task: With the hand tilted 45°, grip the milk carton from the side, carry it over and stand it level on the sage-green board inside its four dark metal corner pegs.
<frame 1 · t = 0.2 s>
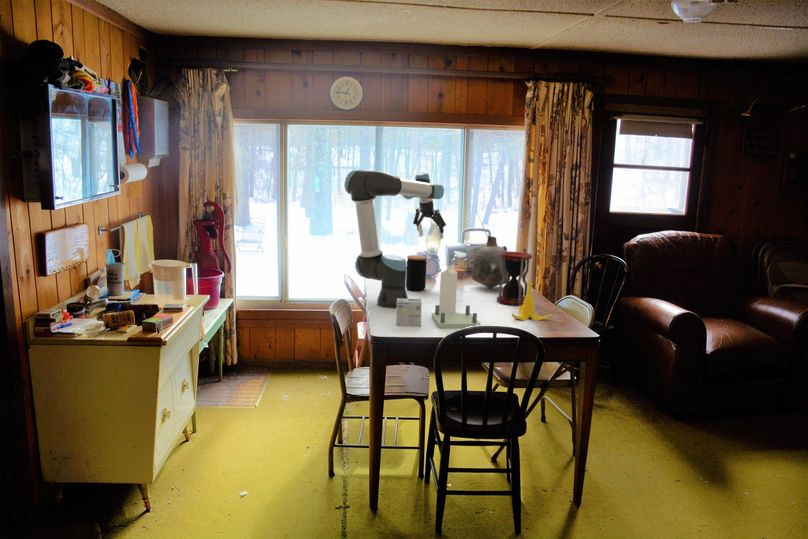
hand: (431, 237, 350), 28 cm above the table, tool tilted 20°, fingers open, 13 cm apart
peg board: (455, 322, 279), on the table
banana peel: (532, 319, 293), on the table
jug: (490, 288, 358), on the table
hourglass: (512, 302, 325), on the table
light bulb box: (408, 324, 274), on the table
coffee jar: (415, 289, 347), on the table
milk: (447, 312, 298), on the table
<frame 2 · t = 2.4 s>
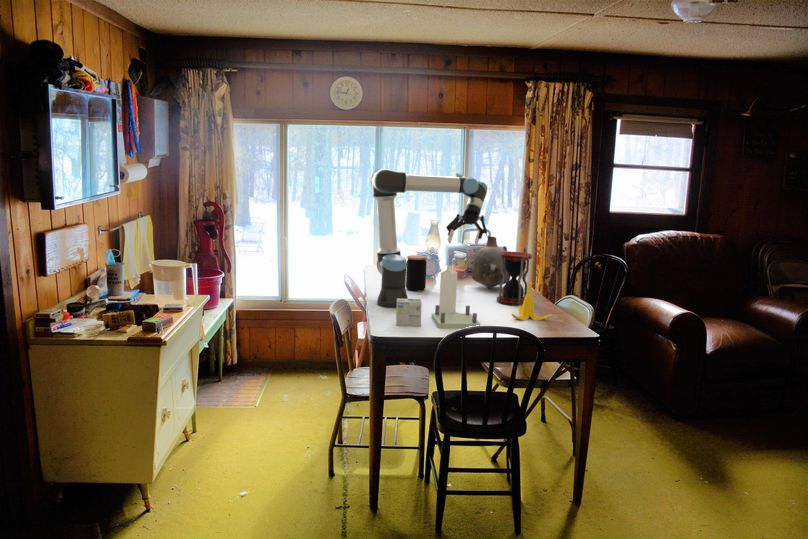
hand: (462, 242, 305), 31 cm above the table, tool tilted 45°, fingers open, 13 cm apart
nothing on the table moved.
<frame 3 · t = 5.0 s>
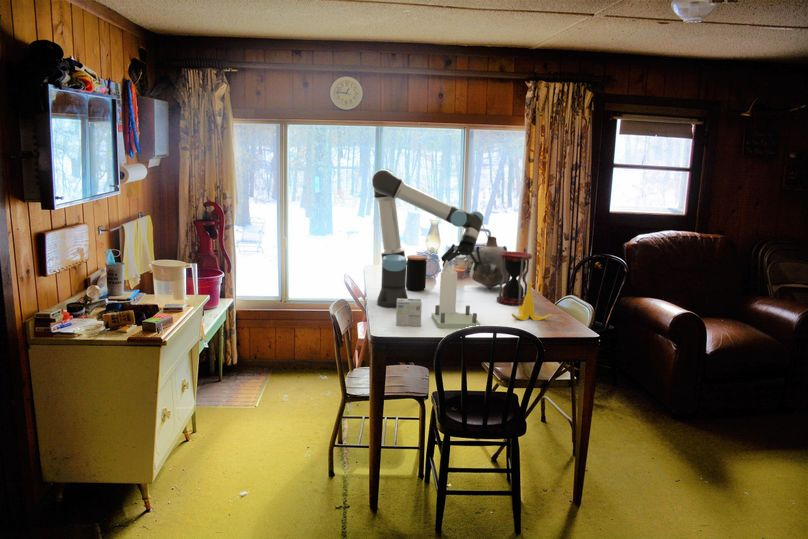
hand: (456, 274, 300), 17 cm above the table, tool tilted 45°, fingers open, 13 cm apart
nothing on the table moved.
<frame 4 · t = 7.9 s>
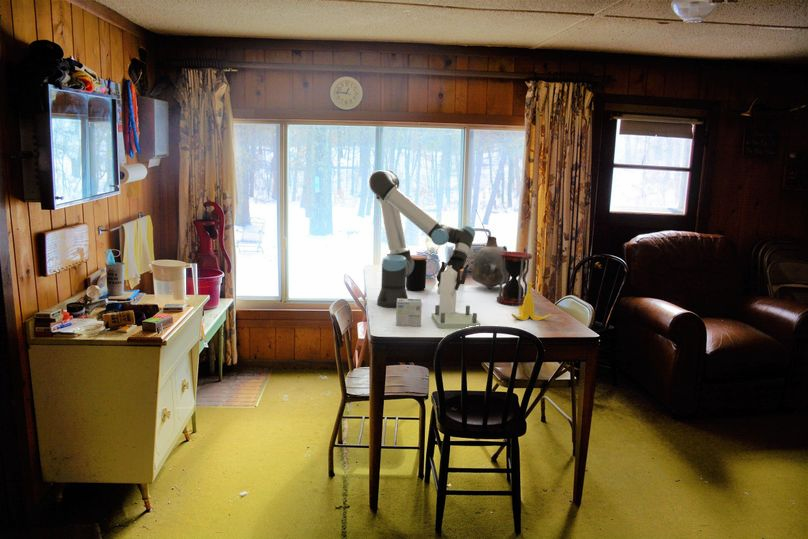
hand: (445, 293, 293), 9 cm above the table, tool tilted 45°, fingers closed on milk, 6 cm apart
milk: (447, 312, 298), on the table, touching gripper
everything else where it was.
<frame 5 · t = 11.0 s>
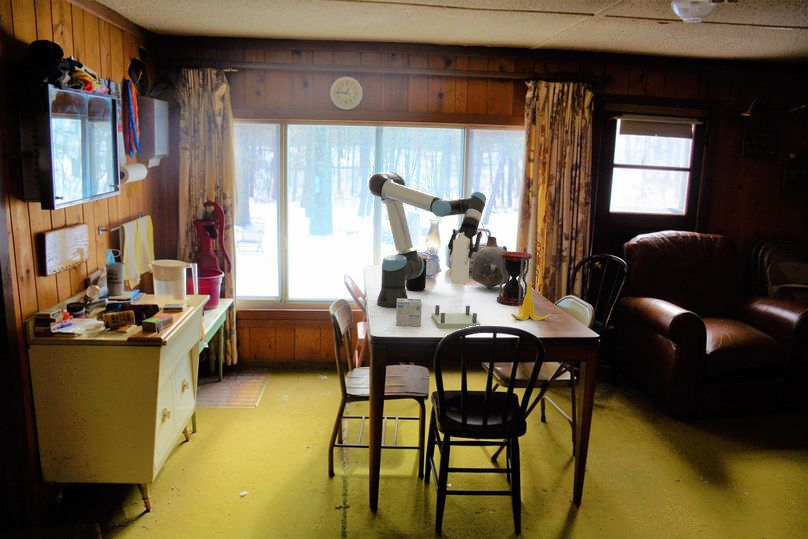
hand: (458, 262, 278), 26 cm above the table, tool tilted 45°, fingers closed on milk, 6 cm apart
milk: (460, 282, 283), point 17 cm above the table, touching gripper
everything else where it was.
when the fingers open (13 cm above the table, at t = 14.3 s): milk drops 1 cm, resting on peg board.
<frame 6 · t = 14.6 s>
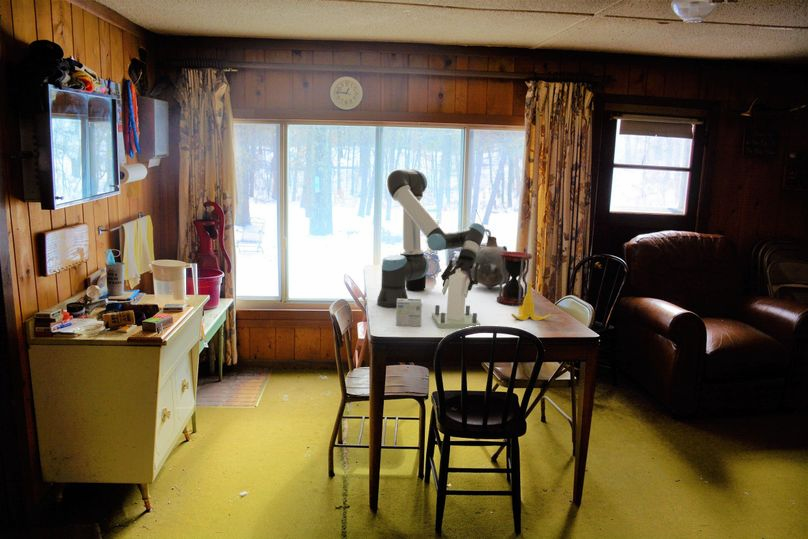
hand: (454, 294, 274), 13 cm above the table, tool tilted 45°, fingers open, 9 cm apart
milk: (455, 318, 279), point 2 cm above the table, touching peg board
everything else where it was.
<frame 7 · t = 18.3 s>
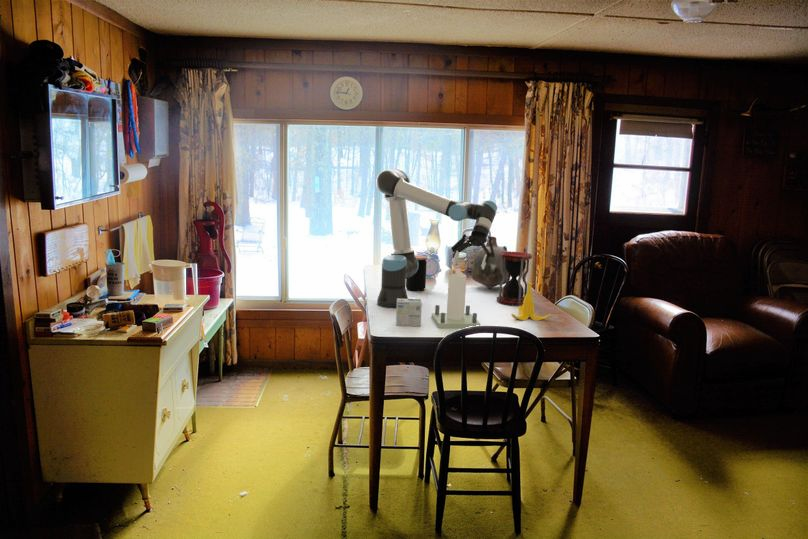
hand: (467, 265, 284), 24 cm above the table, tool tilted 45°, fingers open, 13 cm apart
nothing on the table moved.
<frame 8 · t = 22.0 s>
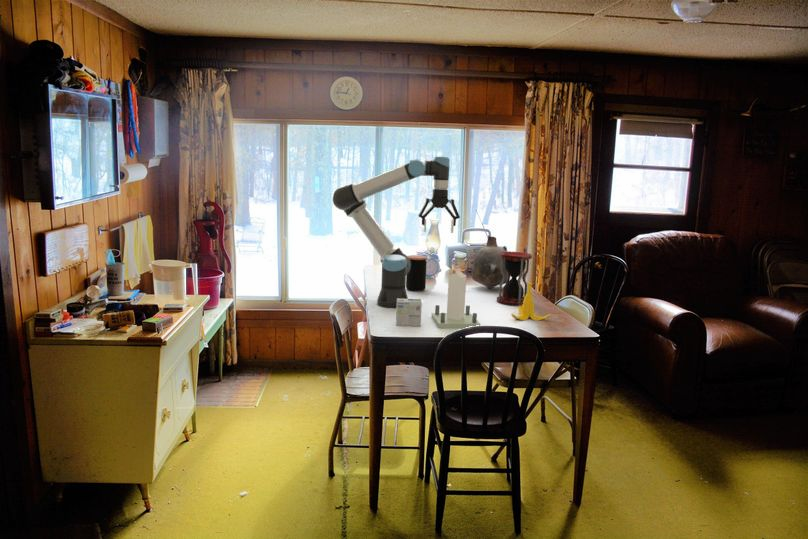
hand: (438, 232, 314), 35 cm above the table, tool pointing down, fingers open, 13 cm apart
nothing on the table moved.
at the end: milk inside the target area on the peg board (0.1 cm from its centre), point 1.8 cm above the peg board's base; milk tilted 0°; the gripper is holding nothing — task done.
